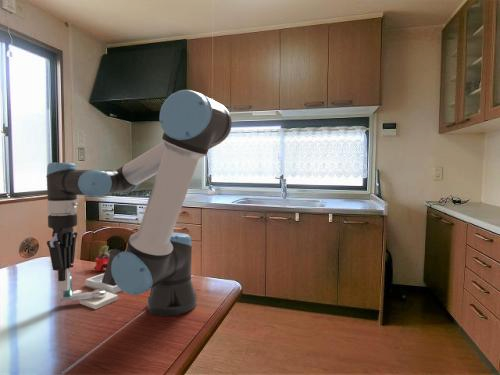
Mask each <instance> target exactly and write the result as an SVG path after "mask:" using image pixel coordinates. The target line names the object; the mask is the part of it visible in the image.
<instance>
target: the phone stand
mask: <svg viewBox="0 0 500 375" xmlns="http://www.w3.org/2000/svg"><path fill="white" fill-rule="evenodd" d="M109 250H110V253H109V254H110V258H109V261H108V264H107V267H106V268H105V269H104V270H105V271H104V276H103V279H102V283H105V284H108V285H111V286H115V285H117V284H116V283H115V280H114V278H113V276H112V272H111V265H112V261H113V259H114V258H115V256H116V255H118V254H119V253H121V252H123V251H122V250H120V249H117V248H114V249H112V248H111V249H109Z"/></svg>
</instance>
